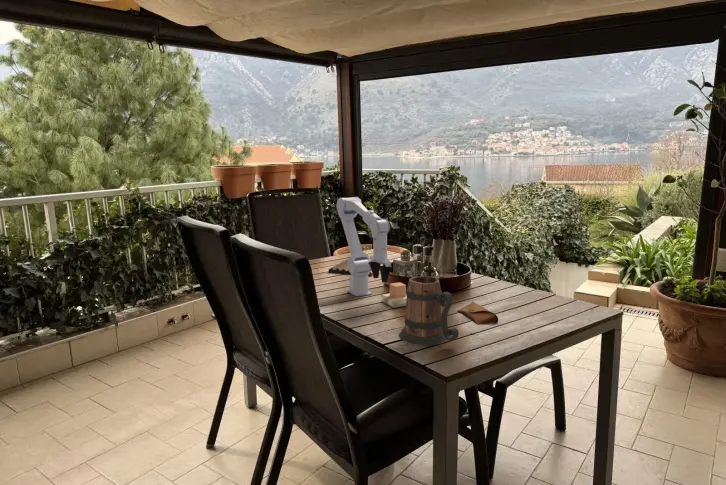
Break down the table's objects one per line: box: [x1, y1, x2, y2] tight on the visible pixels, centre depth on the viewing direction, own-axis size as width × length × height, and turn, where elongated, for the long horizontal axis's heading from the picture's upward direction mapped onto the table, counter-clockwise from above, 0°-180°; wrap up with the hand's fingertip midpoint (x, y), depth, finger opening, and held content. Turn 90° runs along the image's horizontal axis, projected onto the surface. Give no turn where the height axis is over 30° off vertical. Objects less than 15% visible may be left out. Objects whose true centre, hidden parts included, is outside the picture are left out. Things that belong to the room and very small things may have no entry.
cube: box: [389, 281, 407, 298], centre depth 204 cm, size 5×5×5 cm
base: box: [381, 292, 407, 309], centre depth 205 cm, size 10×10×3 cm
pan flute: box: [328, 259, 373, 277], centre depth 266 cm, size 25×3×25 cm
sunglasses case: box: [456, 300, 499, 326], centre depth 187 cm, size 18×7×7 cm
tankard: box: [398, 276, 460, 346], centre depth 163 cm, size 24×17×20 cm
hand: (380, 280), depth 205 cm, fingers open, 7 cm apart
